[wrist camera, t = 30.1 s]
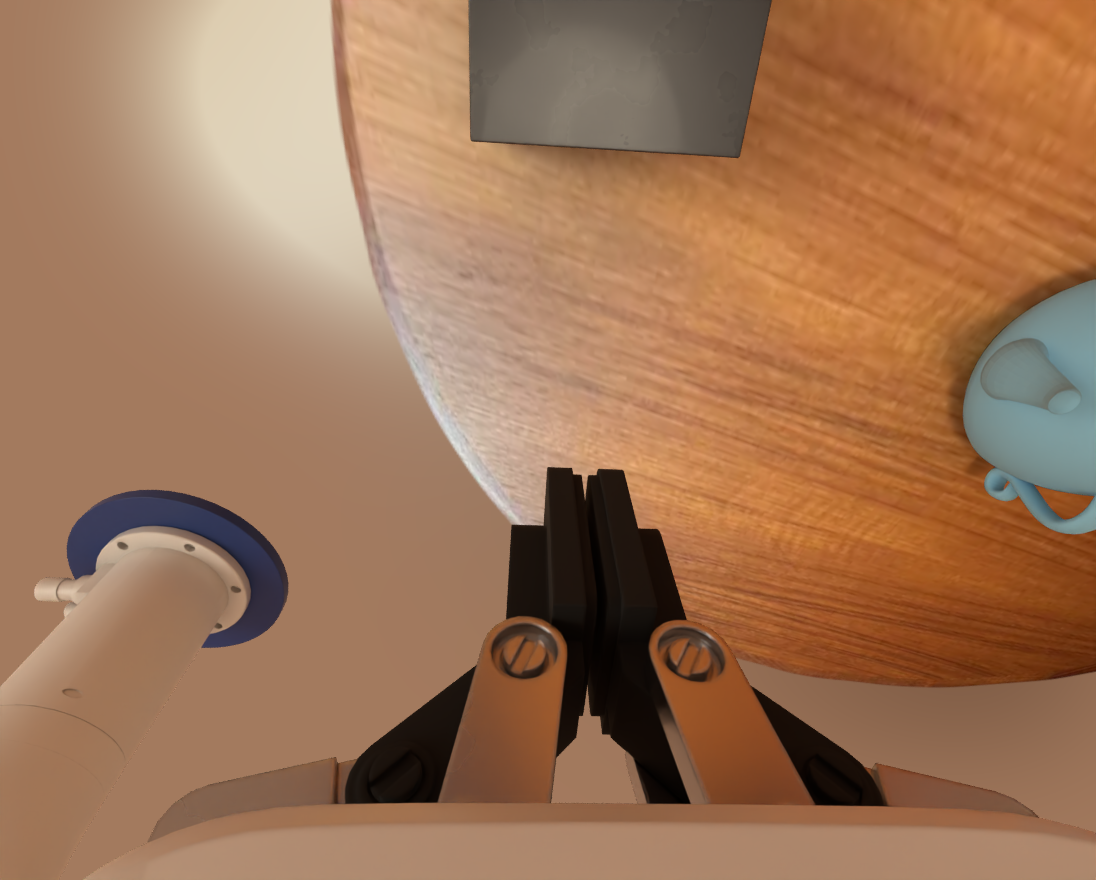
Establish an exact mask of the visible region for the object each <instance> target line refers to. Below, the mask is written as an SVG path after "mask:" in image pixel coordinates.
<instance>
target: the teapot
mask: <svg viewBox="0 0 1096 880" xmlns="http://www.w3.org/2000/svg"><path fill="white" fill-rule="evenodd" d="M963 422H964V428H965V431H966V434H967V437H968V439H969V441H970V443H971V445H972V446H973V448H974V449H975V451H976V452H977V453H978V454H979V455H980V456H981V457H982V458H984V459H985V460H986V461H987V462H989V463H990V464H992V465H993V466H995V468H993V469H992V470H990V471H989V472H988V474H987V476H986V478H985V482H984V487H985V489H986V491H987V492H988V493H989V494H990V495H991V496H992V497H994V498H996V499H998V500H1002V501H1010V500H1013V499H1015V498H1016V497H1017V496H1018V495H1019V497H1020V498H1021V500H1022V501H1023V503H1024V504H1025V506H1026V507H1027V509H1028V510H1029V511H1030V512H1031V514H1032V515H1033V516H1034V517H1035V518H1036V519H1037V520H1038V521H1039V522H1041V523H1042V524H1043V525H1045V526H1046V527H1048V528H1050V529H1052V530H1055V531H1057V532H1061V533H1066V534H1081V533H1086V532H1090V531H1093V530H1096V279H1094V280H1091V281H1087V282H1084V283H1081V284H1078V285H1076V286H1073V287H1071V288H1068V289H1066V290H1064V291H1061V292H1059V293H1057V294H1055V295H1053V296H1051V297H1049V298H1047V299H1045V300H1044V301H1042V302H1040V303H1038V304H1037V305H1035V306H1033V307H1032V308H1030V309H1029V310H1027V311H1026V312H1024V313H1023V314H1021V315H1020V316H1019V317H1017V318H1016V319H1015V320H1013V321H1012V322H1011V323H1010V324H1009V325H1008V326H1006V327H1005V328H1004V329H1003V330H1002V331H1001V332H1000V333H999V334H998V335H997V336H996V337H995V338H994V339H993V341H992V342H991V343H990V344H989V346H988V347H987V348H986V349H985V351H984V352H983V354H982V355H981V357H980V359H979V360H978V362H977V364H976V366H975V368H974V370H973V372H972V374H971V377H970V380H969V382H968V385H967V389H966V394H965V398H964V405H963ZM1007 481H1009V482H1010V484H1008V486H1007V487H1006V488H1005V489H1004V486H1005V484H1006V482H1007ZM1034 485H1037V486H1040V487H1044V488H1048V489H1052V490H1056V491H1061V492H1067V493H1073V494H1080V495H1088V496H1094V498H1093V500H1092V501H1091V503H1090V504H1089V505H1088V507H1087V508H1086V509H1085V510H1084V511H1083V512H1082V513H1080V514H1079V515H1077V516H1075V517H1073V518H1071V519H1067V520H1064V519H1062V518H1060V517H1059V516H1058V515H1057V514H1056V513H1055V512H1054V511H1053V510H1052V509H1051V508H1050V507H1049V506H1048V504H1047V503H1046V502H1045V500H1044V499H1043V497H1042V496H1041V494H1040V493H1039V492H1038V490H1037V489H1036V487H1035V486H1034Z"/></svg>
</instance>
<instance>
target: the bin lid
mask: <svg viewBox="0 0 1096 880" xmlns="http://www.w3.org/2000/svg"><path fill="white" fill-rule="evenodd" d="M771 2H772V0H469V67H470V137H471V141H474V142H490V143H506V144H522V145H538V146H554V147H570V148H586V149H602V150H618V151H634V152H650V153H666V154H682V155H698V156H714V157H730V158H739V157H740V153H741V148H742V143H743V138H744V133H745V128H746V124H747V119H748V114H749V109H750V104H751V99H752V94H753V90H754V85H755V80H756V75H757V70H758V65H759V60H760V55H761V51H762V46H763V41H764V36H765V31H766V26H767V21H768V16H769V12H770V7H771Z"/></svg>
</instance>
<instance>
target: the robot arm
mask: <svg viewBox="0 0 1096 880" xmlns="http://www.w3.org/2000/svg"><path fill="white" fill-rule="evenodd" d="M511 528H512V529H511V544H510V561H509V579H508V596H507V613H506V620H505V621H503V622H501V623H499V624H497V625H496V626H495V627H494V628H493V629H492V630H491V631H490V632H489V633H488V634H487V636H486V638H485V640H484V642H483V645H482V648H481V652H480V655H479V659H478V662H477V665H476V666H475V667H473V668H472V669H471V670H469V671H468V672H467V673H465V674H464V675H463V676H461V677H460V678H459V679H458V680H456V681H455V682H454V683H452V684H451V685H450V686H448V687H447V688H446V689H445V690H443V691H442V692H440V693H439V694H438V695H437V696H435V697H434V698H433V699H431V700H430V701H429V702H427V703H426V704H425V705H423V706H422V707H421V708H420V709H418V710H417V711H416V712H414V713H413V714H412V715H410V716H409V717H408V718H407V719H405V720H404V721H403V722H402V723H400V724H399V725H398V726H396V727H395V728H394V729H392V730H391V731H389V732H388V733H387V734H386V735H384V736H383V737H382V738H380V739H379V740H378V741H376V742H375V743H374V744H373V745H371V746H370V747H369V748H368V749H367V750H366V751H365V752H364V753H363V754H362V755H361V756H360V757H359V758H358V759H355V760H350V761H345V762H341V763H338V762H337V758H336V757H334V758H329V759H325V760H320V761H316V762H311V763H307V764H302V765H297V766H293V767H288V768H283V769H279V770H274V771H270V772H265V773H260V774H256V775H251V776H246V777H242V778H237V779H233V780H228V781H223V782H219V783H214V784H210V785H207V786H205V787H202V788H199V789H196V790H194V791H191V792H190V793H188V794H187V795H185V796H184V797H182V798H181V799H180V800H178V801H177V802H175V803H174V804H173V805H172V806H171V807H170V808H169V809H168V810H167V811H166V813H165V814H164V815H163V816H162V817H161V818H160V820H159V821H158V822H157V824H156V826H155V828H154V830H153V832H152V834H151V836H150V838H149V840H148V843H146V844H144V845H141V846H139V847H137V848H135V849H134V850H132V851H130V852H128V853H126V854H124V855H122V856H120V857H118V858H116V859H115V860H113V861H111V862H109V863H107V864H106V865H104V866H103V867H101V868H99V869H98V870H96V871H95V872H93V873H92V874H90V875H89V876H87V877H85V878H84V879H83V880H1096V833H1095V832H1092V831H1089V830H1085V829H1082V828H1078V827H1075V826H1071V825H1067V824H1063V823H1059V822H1055V821H1051V820H1047V819H1043V818H1039V817H1038V816H1037V815H1036V814H1035V813H1034V812H1033V811H1032V810H1030V809H1029V808H1027V807H1026V806H1024V805H1023V804H1021V803H1020V802H1018V801H1017V800H1015V799H1014V798H1011V797H1009V796H1006V795H1003V794H1001V793H998V792H996V791H992V790H987V789H983V788H979V787H975V786H970V785H966V784H962V783H958V782H953V781H949V780H945V779H940V778H937V777H932V776H928V775H924V774H920V773H916V772H911V771H907V770H903V769H899V768H895V767H890V766H885V765H882V764H878V763H875V765H874V766H873V768H872V769H870V768H866V767H864V766H863V765H862V764H861V763H860V762H859V761H858V760H856V759H855V758H854V757H853V756H852V755H850V754H849V753H848V752H847V751H845V750H844V749H842V748H841V747H839V746H838V745H837V744H835V743H833V742H832V741H830V740H829V739H828V738H826V737H825V736H823V735H822V734H820V733H819V732H818V731H816V730H815V729H813V728H812V727H810V726H809V725H807V724H806V723H804V722H803V721H801V720H800V719H799V718H797V717H796V716H794V715H793V714H791V713H790V712H788V711H787V710H786V709H784V708H782V707H781V706H780V705H778V704H777V703H775V702H774V701H772V700H771V699H770V698H768V697H767V696H765V695H764V694H762V693H761V692H759V691H758V690H756V689H755V688H754V687H752V686H751V685H750V684H749V682H748V680H747V678H746V677H745V675H744V673H743V671H742V669H741V668H740V666H739V664H738V662H737V660H736V658H735V656H734V655H733V653H732V651H731V649H730V647H729V646H728V645H727V643H726V642H725V641H724V639H723V638H722V637H721V636H719V635H718V634H717V633H716V632H715V631H713V630H712V629H710V628H708V627H706V626H704V625H702V624H700V623H697V622H693V621H689V620H687V619H686V616H685V613H684V609H683V606H682V603H681V599H680V596H679V593H678V590H677V586H676V583H675V580H674V576H673V573H672V570H671V566H670V563H669V560H668V556H667V553H666V550H665V546H664V543H663V540H662V536H661V534H660V532H659V530H658V529H638V526H637V522H636V518H635V514H634V510H633V506H632V502H631V498H630V494H629V490H628V486H627V482H626V478H625V474H624V471H623V470H613V469H598V471H597V475H589V476H588V480H587V489H586V498H585V497H584V490H583V482H582V475H573V471H572V468H555V467H548V468H547V481H546V496H545V512H544V526H537V525H512V527H511ZM34 595H35V597H36V599H37V600H39V601H66V600H72V601H73V602H71V603H69V604H68V605H67V606H66V607H65V609H64V617H65V619H64V620H63V621H62V622H61V623H60V624H59V625H58V626H57V627H56V628H55V629H54V630H53V631H52V633H50V634H49V636H48V637H47V638H46V639H45V640H44V641H43V642H42V643H41V644H40V645H39V646H38V647H37V648H36V649H35V650H34V651H33V653H32V654H31V655H30V656H29V657H28V658H27V659H26V660H25V661H24V662H23V663H22V664H21V665H20V666H19V667H18V668H17V670H16V671H15V672H14V673H13V674H12V675H11V676H10V677H9V678H8V679H7V680H6V681H5V682H4V683H3V684H2V686H1V687H0V880H59V879H60V877H61V875H62V873H63V871H64V869H65V868H66V865H67V864H68V862H69V860H70V858H71V857H72V855H73V853H74V851H75V849H76V848H77V846H78V844H79V842H80V841H81V839H82V837H83V835H84V834H85V832H86V830H87V828H88V827H89V825H90V824H91V822H92V820H93V819H94V817H95V815H96V813H97V812H98V810H99V809H100V807H101V805H102V804H103V802H104V801H105V799H106V797H107V796H108V794H109V793H110V791H111V789H112V788H113V786H114V785H115V783H116V782H117V780H118V778H119V777H120V775H121V774H122V772H123V770H124V768H125V767H126V765H127V764H128V762H129V761H130V759H131V757H132V756H133V754H134V753H135V751H136V750H137V748H138V746H139V745H140V743H141V742H142V740H143V739H144V737H145V735H146V734H147V732H148V731H149V729H150V728H151V726H152V724H153V723H154V721H155V720H156V718H157V716H158V715H159V713H160V712H161V710H162V709H163V707H164V705H165V704H166V702H167V701H168V699H169V697H170V696H171V694H172V693H173V691H174V690H175V688H176V686H177V685H178V683H179V682H180V680H181V678H182V677H183V675H184V674H185V672H186V670H187V669H188V667H189V666H190V664H191V663H192V661H193V659H194V658H195V656H196V655H197V653H198V652H199V650H200V648H201V647H202V645H203V644H204V642H205V641H206V639H207V637H208V636H209V634H212V633H217V632H219V631H222V630H225V629H227V628H229V627H230V626H232V625H234V624H235V623H236V622H237V621H238V620H239V619H240V618H241V617H242V615H243V613H244V612H245V610H246V608H247V607H248V604H249V601H250V598H251V588H250V584H249V580H248V578H247V576H246V574H245V572H244V570H243V568H242V567H241V566H240V565H239V563H238V562H237V561H236V560H235V559H234V558H233V557H232V556H231V555H230V554H229V553H228V552H227V551H226V550H224V549H223V548H221V547H220V546H218V545H217V544H216V543H214V542H212V541H210V540H208V539H206V538H204V537H202V536H200V535H197V534H195V533H192V532H189V531H186V530H182V529H177V528H173V527H164V526H143V527H138V528H133V529H129V530H127V531H125V532H122V533H120V534H118V535H117V536H116V537H114V538H113V539H112V540H111V541H110V542H109V543H108V544H107V545H106V546H105V547H104V548H103V549H102V550H101V552H100V554H99V556H98V558H97V563H96V572H95V573H94V574H93V575H84V576H81V577H80V578H79V579H77V580H72V579H70V578H49V577H48V578H47V577H46V578H44V579H41V580H40V581H39V582H38V583H37V585H36V587H35V590H34ZM587 685H588V695H589V705H590V714H591V716H600V719H601V728H602V734H609V735H611V738H612V739H613V740H614V741H615V742H616V743H617V744H618V745H620V746H621V747H622V748H623V749H624V750H625V751H626V753H625V757H626V764H627V769H628V772H629V776H630V779H631V783H632V786H633V790H634V793H635V797H636V800H637V804H612V803H611V804H610V803H605V804H603V803H601V804H600V803H551V799H552V790H553V782H554V773H555V765H556V758H557V756H559V754H560V753H561V752H562V751H563V750H564V749H565V748H566V747H567V746H568V745H569V744H570V743H571V742H572V741H573V740H574V739H575V738H576V735H577V727H578V720H579V716H583V712H584V705H585V698H586V691H587Z"/></svg>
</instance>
